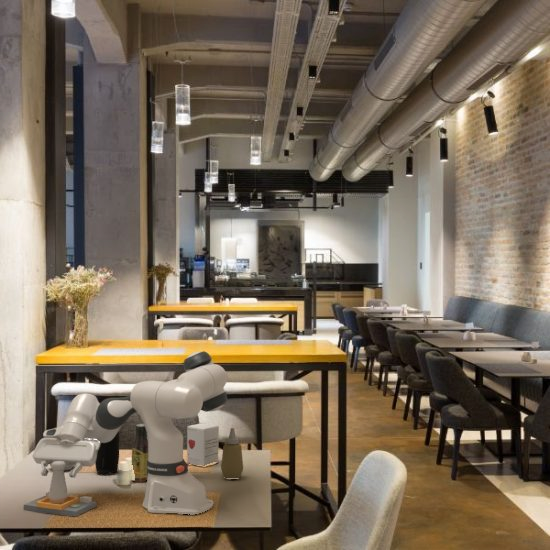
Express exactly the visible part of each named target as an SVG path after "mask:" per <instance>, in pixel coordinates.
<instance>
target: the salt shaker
mask: <svg viewBox="0 0 550 550" xmlns="http://www.w3.org/2000/svg"><path fill="white" fill-rule="evenodd" d="M65 467H66V464H65V462H64V461H55V462H53V463H52V465H51V466H50V469H51V470H52V475H51V482H50V487H49V491H48V492H49V496H48V498H49V500H50V502H51V503H52V504H60V505H61V504H64V503H65V501H66V499H67V496H68V494H69V493H68V487H67V482H66V476H65V471H64V469H65Z"/></svg>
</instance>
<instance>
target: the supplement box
mask: <svg viewBox="0 0 550 550" xmlns="http://www.w3.org/2000/svg"><path fill="white" fill-rule="evenodd" d="M186 429H187V435H186V436H187V437H186V438H187V440H186V441H187V442H186V443H187V444H186V445H187V446H186V448H187V449H186V463H189V462H190V464H194V465H202V466H205V465H207V464H210V463H213V462H217V461H218V462H219V439H220V438H219V435H220V434H219V433H220V432H219V429H220V426H219V425H218V424H210V423H205V422H204V423H203V422H200V423H197V424H191V425H188V426H187V428H186Z"/></svg>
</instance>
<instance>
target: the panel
mask: <svg viewBox="0 0 550 550" xmlns="http://www.w3.org/2000/svg"><path fill="white" fill-rule="evenodd" d="M48 496H49V491H48V492H46V493H45V495H43V496H41V497H38V498H36V499H35V500H31V501H29V502H27V503H25V504H23V511H29V512H36V511H37V513H45V514H52V515H58V514H60V516H65V515H67V517H72V516H74V517H75V518H77V517H78V515H79V516H81V515H83V514H85V513H86V512H88V510H89V511H90V509H91V510H93V509H95V508H96V507H97V501H94V500H93V499H92V496H85V495H83V496H81V497H80V496H75V494H71V493H68V496H67V499H66V501H65V503H64V504H61V505H60V504H52V503H51V502H50V500H49V498H48ZM94 507H95V508H94ZM92 508H93V509H92ZM84 512H85V513H84ZM82 513H83V514H82ZM80 514H81V515H80ZM76 516H77V517H76Z"/></svg>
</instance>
